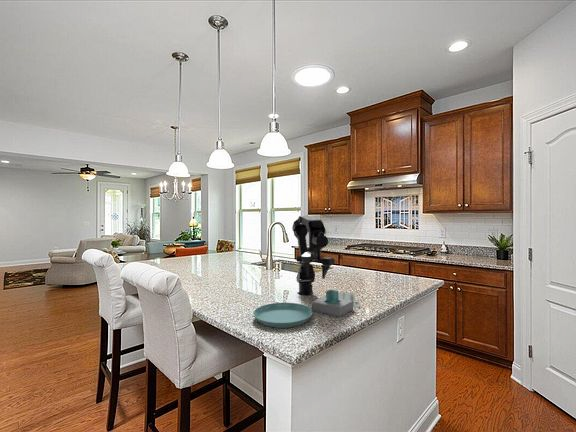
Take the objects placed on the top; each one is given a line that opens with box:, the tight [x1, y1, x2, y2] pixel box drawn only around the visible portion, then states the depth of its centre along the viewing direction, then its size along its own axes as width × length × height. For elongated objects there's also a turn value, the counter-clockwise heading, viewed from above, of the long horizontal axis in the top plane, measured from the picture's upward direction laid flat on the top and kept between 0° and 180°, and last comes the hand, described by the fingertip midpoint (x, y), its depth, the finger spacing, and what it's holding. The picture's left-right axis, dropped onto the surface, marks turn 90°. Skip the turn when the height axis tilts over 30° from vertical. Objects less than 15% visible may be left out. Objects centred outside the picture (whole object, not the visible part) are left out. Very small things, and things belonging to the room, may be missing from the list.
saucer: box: [253, 302, 314, 329], centre depth 123 cm, size 24×24×3 cm
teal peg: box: [325, 289, 339, 304], centre depth 132 cm, size 4×4×8 cm
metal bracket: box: [338, 289, 361, 309], centre depth 143 cm, size 14×6×15 cm
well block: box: [311, 295, 354, 318], centre depth 132 cm, size 14×12×4 cm
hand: (315, 277), depth 145 cm, fingers open, 9 cm apart
